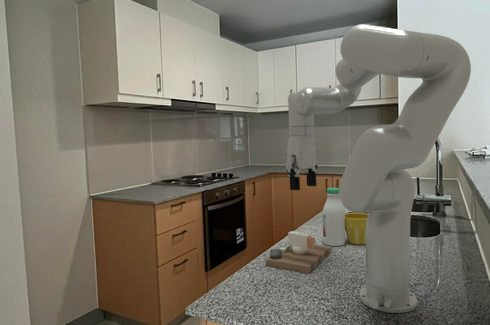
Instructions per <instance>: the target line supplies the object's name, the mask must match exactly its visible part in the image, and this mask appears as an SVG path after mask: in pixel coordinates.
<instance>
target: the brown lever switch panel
mask: <svg viewBox="0 0 490 325" xmlns="http://www.w3.org/2000/svg"><path fill="white" fill-rule="evenodd" d="M331 253H332V246H329V245H320V244H315V247H313V248H308V249H307V253H306V254H301V255H299V254H294V253H293V246H291V245H288V243H287V244H284V245H283V246H281V247H280V248H273V249H271V250H269V256H268V257H267V258H265V266H266V267H270V268H274V269H275V268H276V269H282V270H286V271H291V272H298V273H304V274H311V272H313V271H314V270H315V269H316V268H317V267H318V266H319V265H320V264H321V263H322V262H324V260H325V259H327V257H328V256H329V255H331Z"/></svg>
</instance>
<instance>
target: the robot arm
mask: <svg viewBox="0 0 490 325" xmlns="http://www.w3.org/2000/svg"><path fill="white" fill-rule="evenodd" d="M339 48H340V55H341V59H340V60H339V61H338V62H337V63H336V66H335V76H336V78H337V81H338V82H339V84H338V85H336V86H334V87H314V86H310V87H304V88H302V89H300V90H298V91H295V92H294V91H293V92H291V93H290V94H289V95H288V97H287V103H288V104H287V105H288V107H287V108H288V129H289V130H288V131H289V137H288V142H287V149H286V150H287V153H286V154H287V155H286V156H287V158H286V159H287V160H286V162H285V164H284V165H285V168H286V172H287V174H288V177H289V190H290V191H300V190H301V182H300V176H299V175H300V172H301V171H304V170H306V172H307V173H306V186H308V187H317V172H318V171H317V169H318V163H319V159H318V158H317V155H316V143H315V138H314V137H315V126H314V125H315V123H314V122H315V121H314V115H319V114H320V115H328V114H329V115H332V114H333V115H334V114H338V113H339V112H342V111H344V110H346V109H347V108H349V107H350V106H351V105H352V104H354V103H355V102H356V101H357V100H358V99H359V96H360V94H361V92H362V87H363V86H365V85H366V84H367V83H369V82H370V81H372V80H373V79H374V78H376V77H377V76H379V75H384V76H387V77H393V78H401V79H404V78H405V79H421V81H422V83H421V84H420V85H419V86H418V87H417V88H416V89H415V90H414V91H413V92H412V93H411V94H410V95H409V97H408V98H407V100H406V101H405V102H404V105H403V107H402V110H401V112H400V114H399V115H398V118H397V119H396V120H395V122H394V123H392V124H378V125H374V126H372V127H370V128H367V129H366V130H365V131H364V132H362V134H361V135H360V136H359V137H358V138H357V141H356V143H355V144H354V147H353V149H352V151H351V155H350V157H349V159H348V161H347V164H346V167H345V169H344V171H343V174H342V176H341V178H340V183H339V187H338V188H339V197H340V201H341V203H342V205H343V207H345V208H346V209H347V210H348V211H350V212H351V213H367V214H368V217H367V221H366V244H365V286H363V287H362V288H361V289H360V290H359V292H358V294H359V295H358V298H359V300H360V301H361V302H362V303H363V304H364V305H365V306H367V307H369V308H371V309H373V310H377V311H380V312H384V313H391V314H403V313H408V312H411V311H414V310H415V309H416V308H417V306H418V298H417V296H416V295H415V294H414V293H412V292H411V290H410V288H411V286H410V284H411V281H410V280H411V279H410V278H411V277H410V275H411V272H410V270H411V268H410V265H411V262H410V261H411V259H410V258H411V257H410V255H411V246H410V245H411V244H410V243H411V239H410V238H411V217H412V210H413V204H414V199H415V195H416V194H415V193H416V186H415V182H414V178H413V177H412V175H411V174H410V173H409V172H408V171H407V170H409V169H414V168H418V167H419V166H421V165H422V164H423V163H424V162H425V161H426V160H427V158H428V156H429V155H430V154H431V151H432V150H433V148H434V146H435V144H436V142H437V140H438V139H439V136H440V135H441V132H442V131H443V130H444V127H445V125H446V123H447V122H448V119H449V118H450V115H452V112H453V110H454V109H455V108H456V106H457V104H458V102H459V101H460V99H461V97H462V96H463V95H464V93H465V90H466V89H467V87H468V84H469V82H470V77H471V71H472V64H471V60H470V56H469V53H468V52H467V51H466V49H465V47H464V46H462V44H460V43H459V42H458V41H457V40H455V39H453V38H450V37H448V36H444V35H441V34H440V35H439V34H434V33H428V32H427V33H426V32H420V31H413V30H407V29H406V30H405V29H397V28H392V27H387V26H380V25H374V24H369V23H360V24H357V25H355V26H354V25H353V27H350V29H349V30H348V31H347V32H346V33H345V34H344V36H343V37H342V40H341V43H340V47H339Z"/></svg>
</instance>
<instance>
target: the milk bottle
mask: <svg viewBox="0 0 490 325" xmlns="http://www.w3.org/2000/svg"><path fill="white" fill-rule="evenodd" d="M326 195H327V198H326V200H325V203H324V206H323V209H322V242H323V244H324V245H325V246H329V247H340V246H344V245H345V243H346V230H345V214H346V213H345V208H344V207H345V206H344V205H343V204H342V202H341V199H340V195H339V187H328V188H326Z"/></svg>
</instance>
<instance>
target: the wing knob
mask: <svg viewBox="0 0 490 325" xmlns="http://www.w3.org/2000/svg"><path fill="white" fill-rule="evenodd" d="M315 241H316V240H315V237H314V236H312V235H311V234H309V233H306V232H305V233H304V232H299V231H294V230H291V231H289V232H287V244H288V245H291V246H293V253H294V254H299V255H301V254H306V253H307V249H308V248H313V247H315V245H316V244H315Z"/></svg>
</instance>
